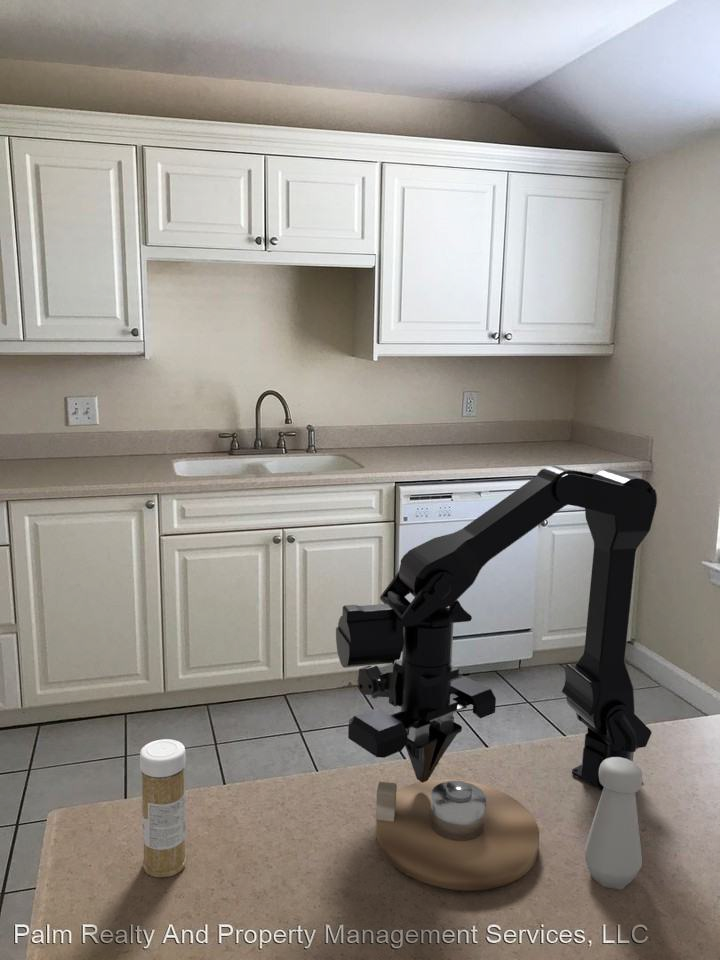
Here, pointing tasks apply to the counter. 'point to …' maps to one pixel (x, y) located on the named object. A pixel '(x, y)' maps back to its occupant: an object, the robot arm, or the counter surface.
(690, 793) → the counter surface
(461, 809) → the cover
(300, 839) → the counter surface
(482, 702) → the robot arm
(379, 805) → the disc
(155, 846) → the spice bottle
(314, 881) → the counter surface
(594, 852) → the salt shaker
